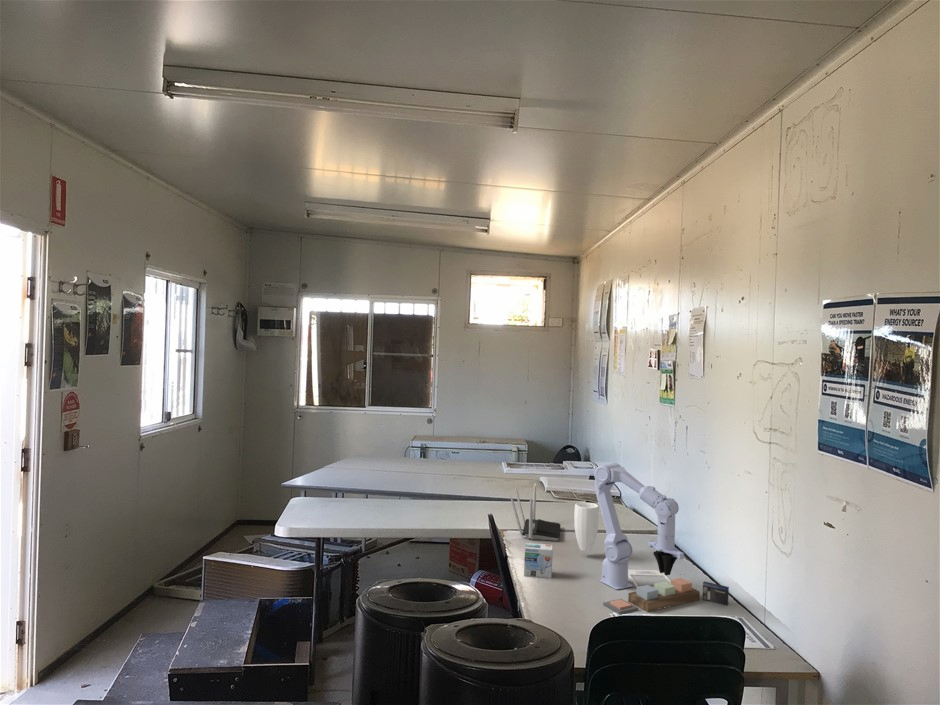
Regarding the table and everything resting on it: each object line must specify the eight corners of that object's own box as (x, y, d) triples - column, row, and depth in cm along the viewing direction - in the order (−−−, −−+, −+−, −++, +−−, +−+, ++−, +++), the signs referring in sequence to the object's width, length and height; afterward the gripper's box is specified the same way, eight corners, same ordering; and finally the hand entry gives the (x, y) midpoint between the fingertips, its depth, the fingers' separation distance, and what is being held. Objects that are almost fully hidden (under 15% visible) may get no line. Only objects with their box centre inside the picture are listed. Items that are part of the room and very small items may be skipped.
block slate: (636, 598, 209) (636, 587, 209) (647, 596, 211) (647, 584, 211) (646, 604, 205) (647, 592, 205) (657, 601, 207) (658, 590, 207)
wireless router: (559, 546, 269) (561, 500, 269) (507, 542, 273) (508, 497, 273) (560, 525, 302) (561, 484, 302) (513, 521, 306) (515, 481, 306)
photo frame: (661, 570, 241) (677, 587, 223) (661, 572, 241) (677, 590, 223) (624, 568, 241) (637, 586, 223) (624, 571, 241) (637, 589, 223)
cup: (598, 561, 250) (599, 509, 250) (572, 559, 252) (573, 507, 252) (597, 553, 260) (599, 503, 260) (573, 551, 262) (574, 501, 262)
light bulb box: (523, 576, 232) (524, 547, 232) (524, 570, 238) (525, 542, 238) (552, 578, 230) (552, 549, 230) (552, 572, 237) (552, 544, 237)
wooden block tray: (628, 601, 210) (628, 593, 210) (679, 590, 222) (679, 582, 222) (647, 612, 202) (647, 602, 202) (699, 599, 214) (699, 591, 214)
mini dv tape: (702, 599, 214) (702, 582, 214) (703, 598, 215) (703, 581, 215) (727, 605, 209) (727, 588, 209) (728, 604, 211) (728, 586, 211)
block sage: (653, 595, 213) (654, 583, 213) (664, 592, 215) (664, 581, 215) (664, 600, 208) (664, 588, 208) (675, 597, 211) (675, 586, 211)
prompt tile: (603, 604, 207) (603, 600, 207) (621, 601, 211) (621, 596, 211) (619, 614, 200) (619, 610, 200) (637, 610, 204) (637, 605, 204)
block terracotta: (670, 591, 217) (670, 580, 217) (680, 589, 219) (680, 578, 219) (681, 596, 212) (681, 585, 212) (691, 594, 215) (691, 582, 215)
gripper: (642, 530, 216) (641, 568, 216) (673, 541, 204) (672, 582, 204) (657, 527, 220) (656, 565, 220) (688, 539, 207) (687, 579, 207)
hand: (664, 573), depth 212 cm, fingers closed
